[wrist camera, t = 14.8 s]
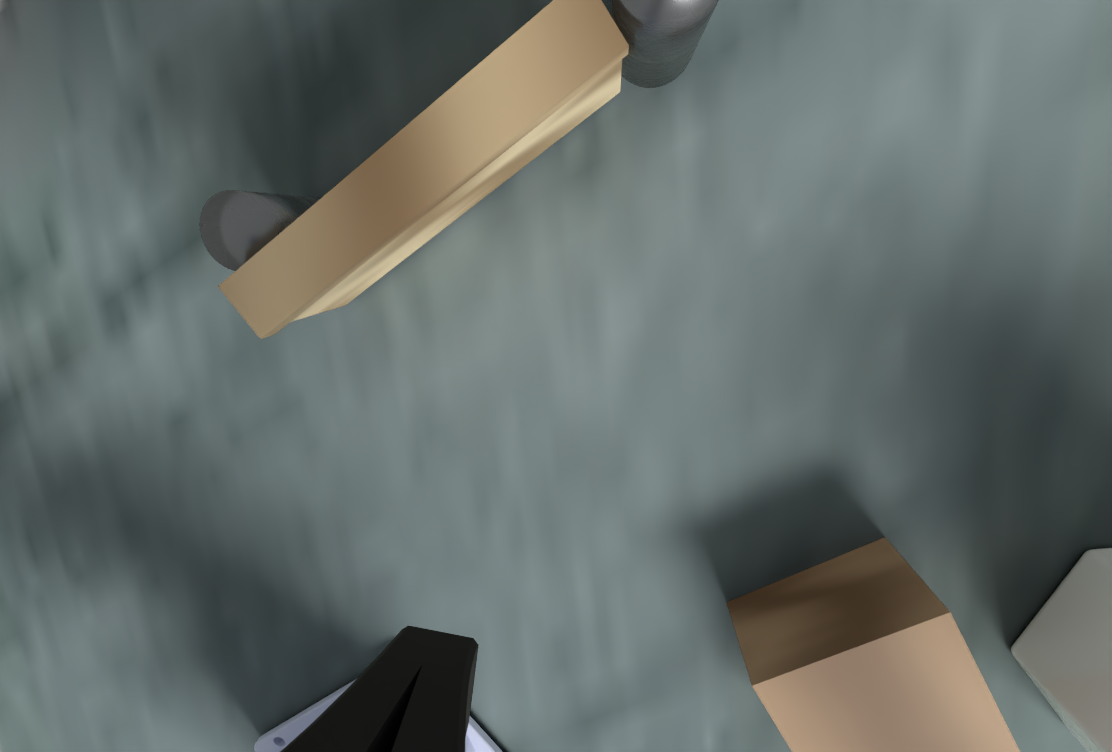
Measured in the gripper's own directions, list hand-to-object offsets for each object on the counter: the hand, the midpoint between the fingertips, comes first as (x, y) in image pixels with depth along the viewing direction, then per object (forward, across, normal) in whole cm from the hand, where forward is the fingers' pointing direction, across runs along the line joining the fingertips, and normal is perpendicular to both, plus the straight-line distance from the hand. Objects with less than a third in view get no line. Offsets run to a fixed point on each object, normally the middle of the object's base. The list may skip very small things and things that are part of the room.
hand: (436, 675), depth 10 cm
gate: (+10, +3, -9) cm, 13 cm away
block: (+10, -13, +5) cm, 17 cm away
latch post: (+10, +8, -7) cm, 14 cm away
